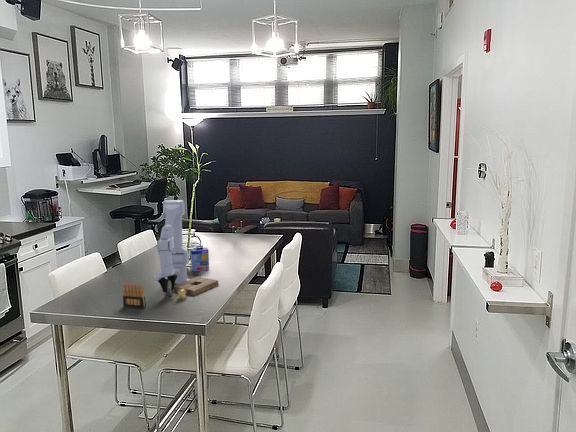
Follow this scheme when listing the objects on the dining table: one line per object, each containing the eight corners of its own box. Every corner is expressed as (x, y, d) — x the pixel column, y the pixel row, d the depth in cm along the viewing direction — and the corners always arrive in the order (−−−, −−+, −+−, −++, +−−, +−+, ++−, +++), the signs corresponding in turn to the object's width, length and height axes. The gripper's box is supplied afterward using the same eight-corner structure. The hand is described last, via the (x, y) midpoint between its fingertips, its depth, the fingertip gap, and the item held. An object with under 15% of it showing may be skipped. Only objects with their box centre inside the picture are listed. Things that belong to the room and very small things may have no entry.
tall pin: (163, 296, 225) (162, 280, 224) (168, 294, 228) (167, 278, 227) (168, 297, 223) (167, 281, 222) (174, 295, 226) (172, 279, 225)
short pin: (176, 299, 220) (176, 290, 219) (182, 297, 223) (181, 288, 222) (182, 300, 218) (181, 291, 218) (187, 298, 221) (187, 289, 221)
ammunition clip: (146, 306, 211) (143, 281, 209) (143, 308, 210) (141, 282, 208) (125, 305, 214) (123, 280, 212) (123, 306, 213) (120, 281, 211)
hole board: (173, 291, 232) (172, 286, 232) (198, 281, 247) (197, 276, 247) (194, 295, 225) (193, 290, 224) (218, 285, 240) (218, 280, 239)
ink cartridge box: (192, 272, 264) (191, 247, 262) (191, 269, 269) (189, 245, 267) (209, 269, 268) (208, 245, 265) (208, 267, 273) (206, 243, 270)
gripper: (160, 268, 215) (162, 296, 217) (183, 261, 227) (185, 287, 229) (150, 266, 218) (152, 294, 221) (172, 259, 230) (174, 285, 233)
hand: (168, 290), depth 225 cm, fingers closed on tall pin, 4 cm apart
